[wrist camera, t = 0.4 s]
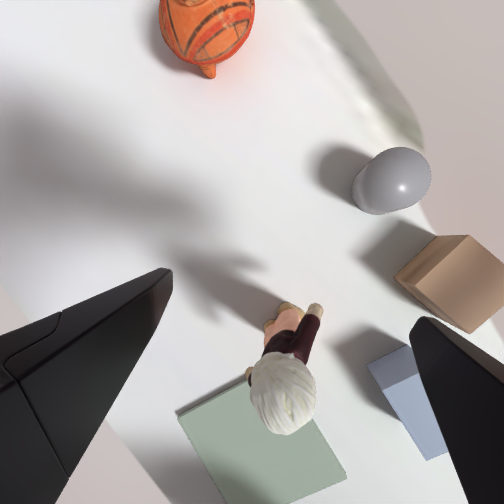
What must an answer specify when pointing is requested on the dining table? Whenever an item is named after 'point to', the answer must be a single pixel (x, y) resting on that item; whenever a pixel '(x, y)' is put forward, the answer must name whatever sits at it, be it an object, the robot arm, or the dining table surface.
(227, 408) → the sage mat
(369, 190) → the grey capsule
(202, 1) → the pot
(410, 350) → the slate-blue block
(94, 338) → the robot arm
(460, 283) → the walnut block
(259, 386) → the grandmother figurine
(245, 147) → the dining table surface
